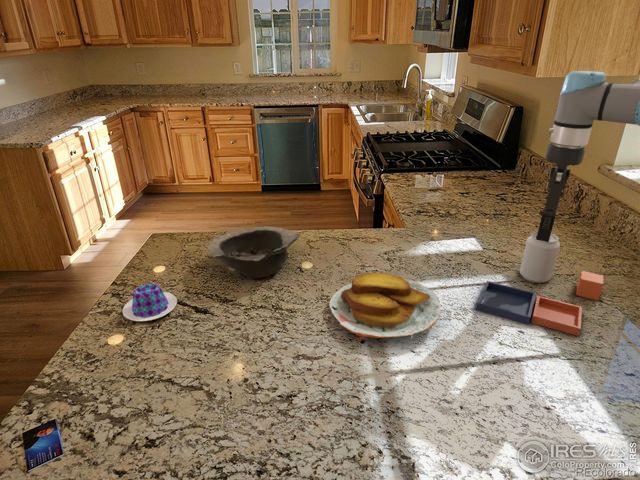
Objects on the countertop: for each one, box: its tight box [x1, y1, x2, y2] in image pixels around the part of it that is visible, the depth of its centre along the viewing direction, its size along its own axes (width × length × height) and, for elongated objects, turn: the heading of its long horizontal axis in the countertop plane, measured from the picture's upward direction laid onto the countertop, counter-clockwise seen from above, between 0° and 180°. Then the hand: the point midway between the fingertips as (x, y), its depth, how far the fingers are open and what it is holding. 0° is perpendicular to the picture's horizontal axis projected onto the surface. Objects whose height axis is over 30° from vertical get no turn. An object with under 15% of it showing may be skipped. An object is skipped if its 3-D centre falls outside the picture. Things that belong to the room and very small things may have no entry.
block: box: [575, 270, 604, 301], centre depth 103 cm, size 5×5×5 cm
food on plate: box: [328, 271, 443, 342], centre depth 96 cm, size 25×25×7 cm
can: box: [519, 230, 561, 284], centre depth 108 cm, size 8×8×12 cm
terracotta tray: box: [530, 295, 583, 337], centre depth 95 cm, size 9×9×2 cm
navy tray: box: [475, 280, 537, 325], centre depth 99 cm, size 11×11×2 cm
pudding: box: [122, 283, 178, 322], centre depth 98 cm, size 12×12×5 cm
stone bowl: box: [206, 225, 301, 280], centre depth 117 cm, size 25×25×9 cm
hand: (545, 230), depth 105 cm, fingers open, 13 cm apart
